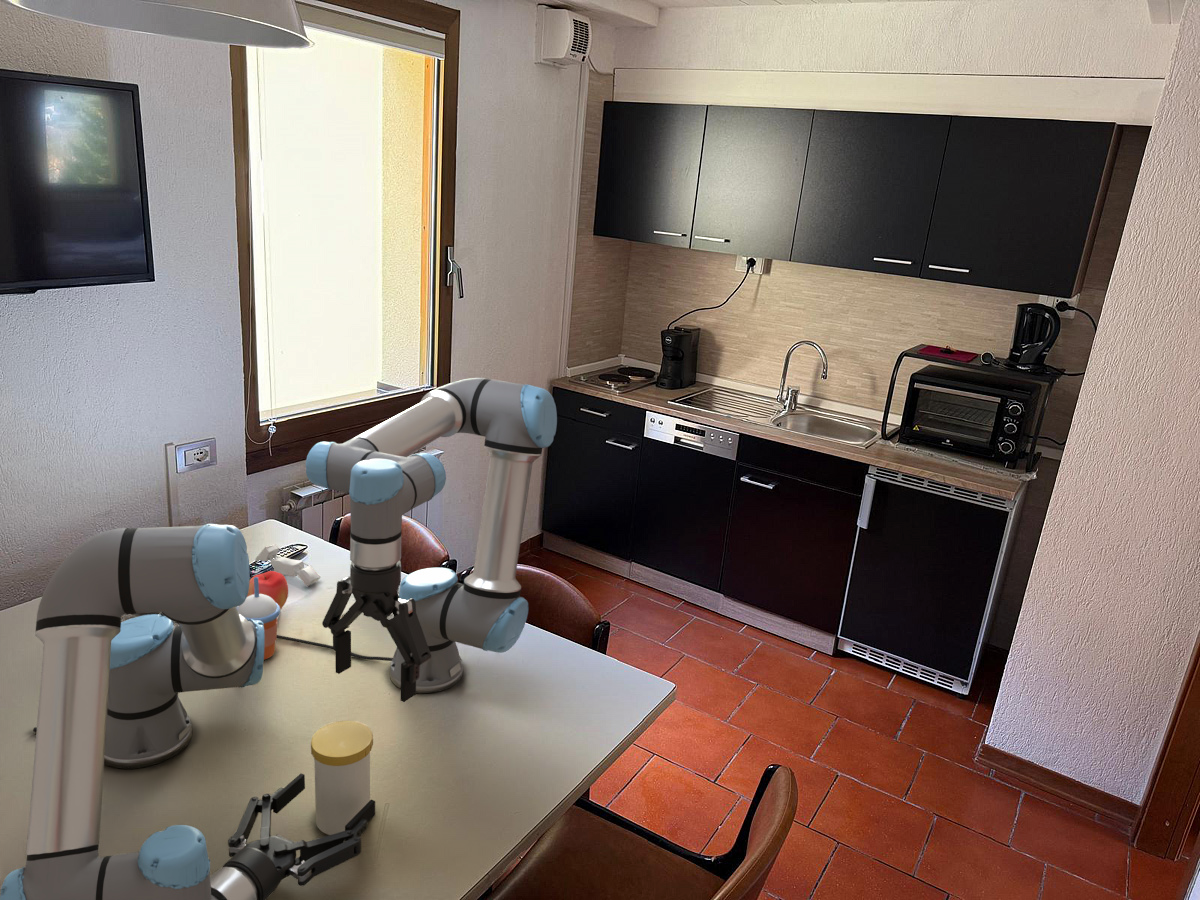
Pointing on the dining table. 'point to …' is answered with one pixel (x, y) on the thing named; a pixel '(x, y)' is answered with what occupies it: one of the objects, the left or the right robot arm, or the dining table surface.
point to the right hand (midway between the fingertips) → (375, 683)
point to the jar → (340, 793)
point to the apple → (271, 586)
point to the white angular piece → (288, 565)
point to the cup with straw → (262, 616)
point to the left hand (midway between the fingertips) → (337, 793)
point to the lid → (341, 743)
